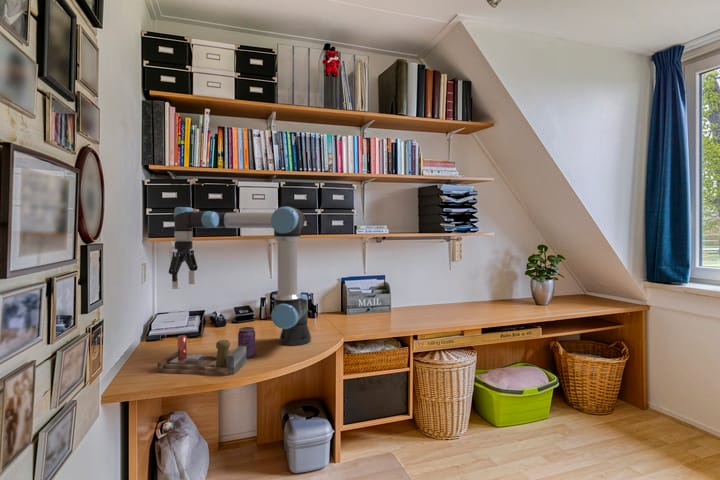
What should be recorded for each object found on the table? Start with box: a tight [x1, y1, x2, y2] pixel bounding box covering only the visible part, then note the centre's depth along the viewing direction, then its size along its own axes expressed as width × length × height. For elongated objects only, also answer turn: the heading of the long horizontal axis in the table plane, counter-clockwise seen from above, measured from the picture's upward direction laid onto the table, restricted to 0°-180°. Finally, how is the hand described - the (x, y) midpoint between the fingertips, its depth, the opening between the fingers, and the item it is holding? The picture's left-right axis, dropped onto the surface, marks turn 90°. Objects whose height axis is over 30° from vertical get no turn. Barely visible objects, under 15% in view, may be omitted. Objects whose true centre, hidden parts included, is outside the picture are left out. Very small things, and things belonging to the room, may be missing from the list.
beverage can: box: [237, 326, 256, 359], centre depth 164 cm, size 7×7×12 cm
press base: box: [156, 346, 247, 376], centre depth 151 cm, size 30×14×7 cm, turn 85°
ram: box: [169, 334, 205, 365], centre depth 152 cm, size 11×8×11 cm
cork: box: [215, 339, 231, 368], centre depth 150 cm, size 6×6×11 cm
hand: (184, 286), depth 177 cm, fingers open, 13 cm apart
